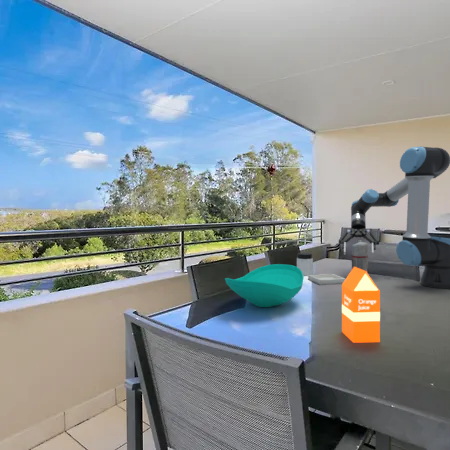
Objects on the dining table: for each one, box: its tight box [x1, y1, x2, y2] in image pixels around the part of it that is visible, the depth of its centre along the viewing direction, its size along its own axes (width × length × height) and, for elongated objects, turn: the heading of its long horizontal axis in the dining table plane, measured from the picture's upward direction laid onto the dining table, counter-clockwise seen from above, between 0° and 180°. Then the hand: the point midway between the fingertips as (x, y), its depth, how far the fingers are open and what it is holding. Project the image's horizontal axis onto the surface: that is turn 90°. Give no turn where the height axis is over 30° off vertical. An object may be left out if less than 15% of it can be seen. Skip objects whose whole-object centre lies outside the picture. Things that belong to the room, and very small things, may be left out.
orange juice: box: [341, 267, 381, 344], centre depth 101 cm, size 8×9×20 cm
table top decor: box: [224, 263, 305, 308], centre depth 137 cm, size 40×28×13 cm
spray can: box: [350, 241, 369, 275], centre depth 178 cm, size 8×8×20 cm
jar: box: [296, 252, 314, 277], centre depth 199 cm, size 9×8×12 cm
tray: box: [307, 273, 346, 286], centre depth 179 cm, size 14×14×2 cm
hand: (358, 253), depth 181 cm, fingers open, 13 cm apart
